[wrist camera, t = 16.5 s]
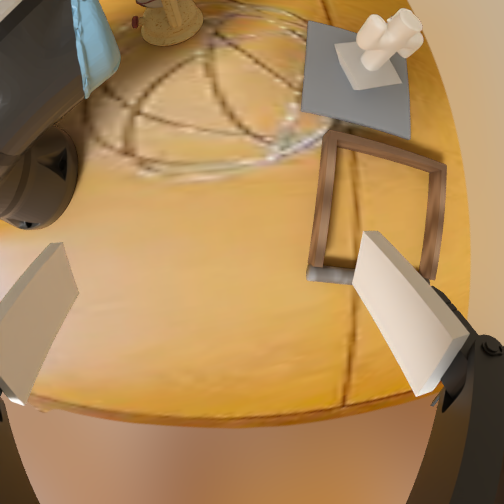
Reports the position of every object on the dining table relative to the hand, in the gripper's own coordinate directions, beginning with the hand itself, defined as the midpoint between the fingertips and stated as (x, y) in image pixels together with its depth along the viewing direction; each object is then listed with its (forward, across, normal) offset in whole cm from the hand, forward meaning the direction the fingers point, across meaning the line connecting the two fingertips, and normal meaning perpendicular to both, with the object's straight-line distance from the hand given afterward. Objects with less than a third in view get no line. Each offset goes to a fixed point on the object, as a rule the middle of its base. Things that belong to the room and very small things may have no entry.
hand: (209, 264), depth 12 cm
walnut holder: (+21, +21, -6) cm, 30 cm away
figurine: (+29, +19, +12) cm, 36 cm away
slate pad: (+29, +20, +12) cm, 37 cm away
